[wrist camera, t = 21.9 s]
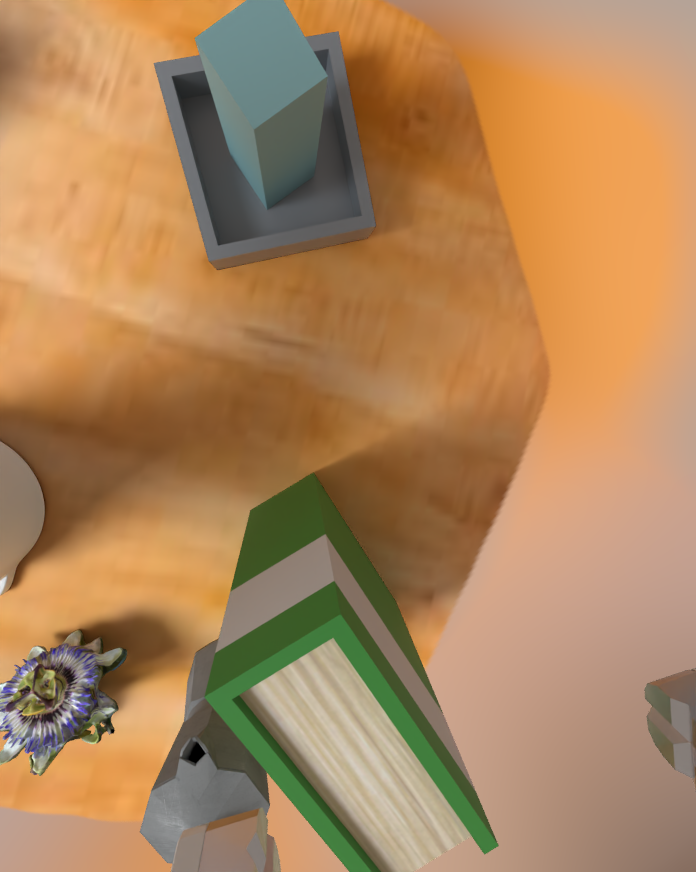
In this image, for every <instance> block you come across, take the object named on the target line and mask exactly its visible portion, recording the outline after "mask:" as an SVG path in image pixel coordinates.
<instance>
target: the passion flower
mask: <svg viewBox="0 0 696 872" xmlns="http://www.w3.org/2000/svg"><path fill="white" fill-rule="evenodd" d="M50 649H51V650H50V651H49V652H47V650H46V648H44V647H41V646H35V647H33V648H32V650H31V651H30V654H29V655H28V657H27V661H26V660H25V659H23V660H24V662H25V663H26V664H25V665H23V666H22V668H20V667H19V666H17V665H14V666H16V667H18V669H15V670H16V671H17V672H16V674H15V676H13V678H12V679H11V680H10V681H7V682H5V683H1V684H0V731H9V733H7V734H6V735H5V736H4V737H3V740H5V739H7V738H8V737H9V739H8V741H7V742H6V744H5V745H4V749H3V750H2V751H1V752H0V765H1V764H3V763H6V762H8V761H11V760H12V759H14V758H15V757H17V756H18V754H19V753H20V752H21V750H23V749H24V747H25V748H26V749H25V752H26V753H29V752H30V751H31V752H34V753H33V754H32V755H30V757H29V761H30V767H31V771H30V773H33V775H37V774H39V776H41V775H42V774H43V773H44V772H45V770H46V769H47V768H48V766H49V765H50V764H51V762H52V761H53V760H54V758H55V757H56V756H57V755H58V753H59V752H60V751H61V750H62V749H63V747H64V745H65V744H66V743H67V742H69V741H70V740H74V739H80V738H82V740H83V741H85V742H87V743H91V744H95V743H98V742H99V741H100V740H101V736H102V734H103V733H104V732H106V731H107V732H108V733H109V735H110V734H111V733H113V734H114V731H115V730H114V727H113V725H112V723H111V716H112V715H113V713H115V712H116V711H117V710H118V705H117V703H116V701H115V700H113V699H112V698H110V697H109V696H108V695H107V694H105V693H104V692H102V691H100V690H99V689H98V685H99V682H100V679H101V678H102V677H103V676H104V675H105V674H106V673H108V672H109V671H113V670H115V669H117V668H118V667H119V666H120V665H121V664H122V663H123V662H124V661H125V660H126V656H127V650H126V649H123V648H116V649H113V650H110V651H108V652H106V653H104V654H102V653H103V640H102V637H98V638H97V639H95V640H93V641H92V642H91V643H89V644H86V643H85V642H84V636H83V634H82V632H81V631H80V630H77V631H75V632H73V633H71V634H70V635H69V636H68V637H67V638H66V640H65V641H64V642H63V643H62V645H59V646H58V647H56V648H50ZM101 722H102V724H104V725H105V726H104V727H101V725H100V723H101ZM92 725H94V726H95V728H96V730H95V733H94V734H90V733H91V731H89V730H87V729H88V728H90V727H91V726H92ZM89 734H90V735H89Z"/></svg>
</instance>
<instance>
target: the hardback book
mask: <svg viewBox="0 0 696 872" xmlns="http://www.w3.org/2000/svg"><path fill="white" fill-rule="evenodd" d="M204 697H205V699H206V700H207V701H208V702H209V703H210V705H211V706H212V707H213V708H214V709H215V711H216V712H217V713H218V714H219V715H220V717H221V718H222V719H223V720H224V721H225V723H226V724H227V725H228V726H229V727H230V729H231V730H232V731H233V732H234V733H235V735H236V736H237V737H238V738H239V739H240V741H241V742H242V743H243V744H244V746H245V747H246V748H247V749H248V750H249V752H250V753H251V754H252V755H253V756H254V758H255V759H256V760H257V761H258V762H259V764H260V765H261V766H262V767H263V768H264V770H265V771H266V772H267V773H268V774H269V775H270V777H271V778H272V779H273V780H274V781H275V783H276V784H277V785H278V786H279V787H280V789H281V790H282V791H283V792H284V793H285V795H286V796H287V797H288V798H289V800H290V801H291V802H292V803H293V804H294V806H295V807H296V808H297V809H298V810H299V812H300V813H301V814H302V815H303V816H304V818H305V819H306V820H307V821H308V822H309V824H310V825H311V826H312V827H313V828H314V830H315V831H316V832H317V833H318V834H319V835H320V837H321V838H322V839H323V840H324V842H325V843H326V844H327V845H328V846H329V848H330V849H331V850H332V851H333V852H334V854H335V855H336V856H337V857H338V858H339V860H340V861H341V862H342V863H343V864H344V866H345V867H346V868H347V869H348V871H349V872H414V871H416V870H417V869H419V868H421V867H422V866H424V865H426V864H427V863H429V862H430V861H432V860H434V859H435V858H437V857H439V856H440V855H442V854H443V853H445V852H447V851H448V850H450V849H451V848H453V847H455V846H456V845H458V844H460V843H461V842H463V841H464V840H466V839H467V838H469V837H471V836H472V837H473V839H474V840H475V841H476V843H477V844H478V846H479V847H480V849H481V850H482V852H483V853H484V854H486V853H488V852H489V851H491V850H493V849H494V848H496V847H497V846H498V843H497V841H496V839H495V836H494V834H493V831H492V829H491V827H490V824H489V822H488V819H487V817H486V815H485V812H484V810H483V808H482V805H481V803H480V801H479V798H478V796H477V793H476V791H475V789H474V786H473V784H472V781H471V779H470V777H469V774H468V772H467V769H466V767H465V765H464V762H463V760H462V758H461V755H460V753H459V750H458V748H457V746H456V743H455V741H454V739H453V736H452V734H451V732H450V729H449V727H448V724H447V722H446V720H445V717H444V715H443V712H442V710H441V708H440V705H439V703H438V700H437V698H436V696H435V694H434V691H433V689H432V686H431V684H430V682H429V679H428V677H427V674H426V672H425V670H424V667H423V665H422V662H421V660H420V658H419V655H418V653H417V650H416V648H415V646H414V643H413V641H412V639H411V636H410V634H409V631H408V629H407V627H406V624H405V622H404V620H403V617H402V615H401V612H400V610H399V608H398V605H397V603H396V601H395V600H394V598H393V597H392V595H391V593H390V592H389V590H388V589H387V587H386V586H385V584H384V582H383V581H382V579H381V578H380V576H379V574H378V573H377V571H376V570H375V568H374V567H373V565H372V563H371V562H370V560H369V559H368V557H367V556H366V554H365V552H364V551H363V549H362V548H361V546H360V545H359V543H358V541H357V540H356V538H355V537H354V535H353V534H352V532H351V530H350V529H349V527H348V526H347V524H346V523H345V521H344V519H343V518H342V516H341V515H340V513H339V512H338V510H337V508H336V507H335V505H334V504H333V502H332V501H331V499H330V497H329V496H328V494H327V493H326V491H325V490H324V488H323V486H322V485H321V483H320V482H319V480H318V478H317V477H316V475H315V474H314V472H313V473H312V474H310V475H308V476H307V477H305V478H303V479H302V480H300V481H298V482H297V483H295V484H293V485H292V486H290V487H288V488H287V489H285V490H283V491H282V492H280V493H279V494H277V495H275V496H274V497H272V498H270V499H269V500H267V501H265V502H264V503H262V504H260V505H259V506H257V507H255V508H254V509H252V510H250V514H249V518H248V522H247V526H246V530H245V534H244V538H243V542H242V547H241V551H240V555H239V559H238V563H237V567H236V571H235V575H234V579H233V583H232V587H231V591H230V595H229V599H228V603H227V607H226V611H225V615H224V619H223V623H222V627H221V631H220V635H219V639H218V643H217V647H216V651H215V656H214V660H213V664H212V668H211V672H210V676H209V680H208V684H207V688H206V692H205V696H204Z"/></svg>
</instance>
